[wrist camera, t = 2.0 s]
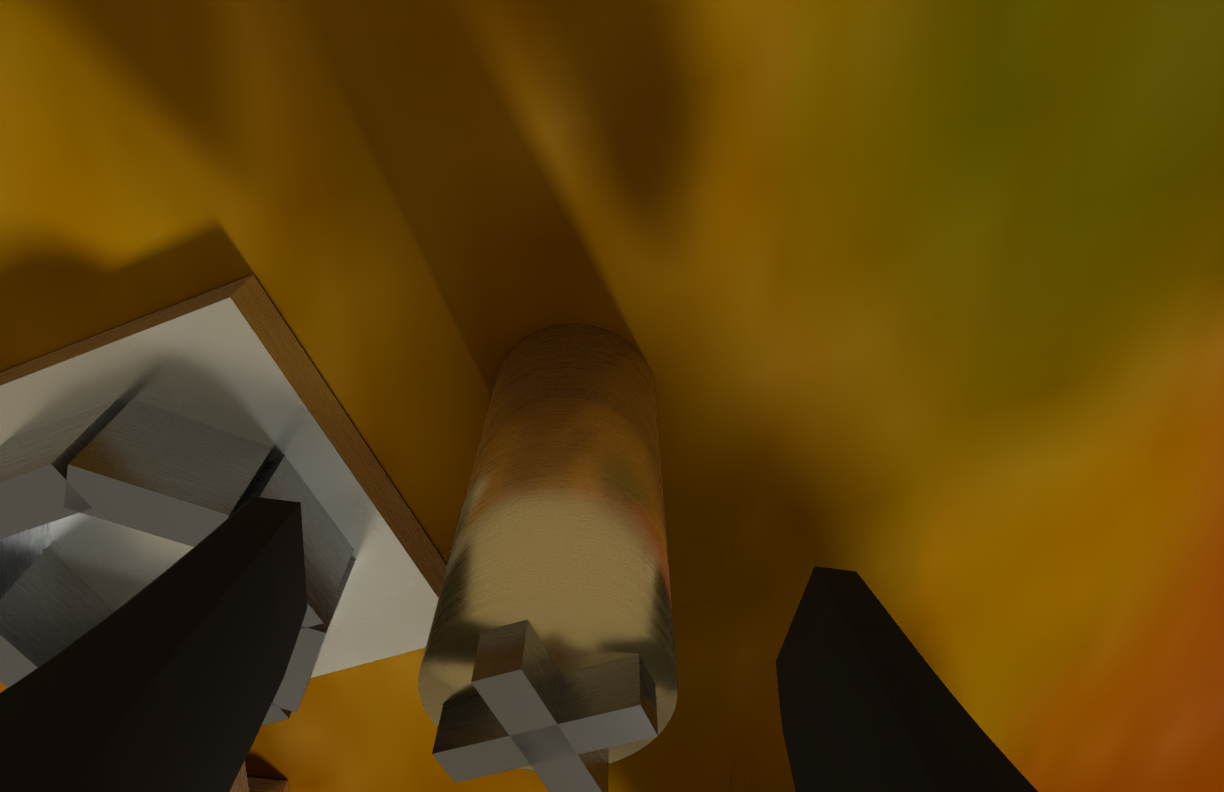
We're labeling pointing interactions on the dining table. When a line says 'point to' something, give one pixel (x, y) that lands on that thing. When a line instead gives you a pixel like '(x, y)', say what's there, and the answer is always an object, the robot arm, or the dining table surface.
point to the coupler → (557, 573)
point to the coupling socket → (197, 487)
